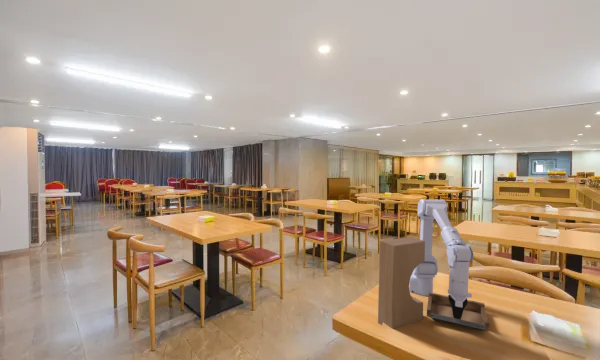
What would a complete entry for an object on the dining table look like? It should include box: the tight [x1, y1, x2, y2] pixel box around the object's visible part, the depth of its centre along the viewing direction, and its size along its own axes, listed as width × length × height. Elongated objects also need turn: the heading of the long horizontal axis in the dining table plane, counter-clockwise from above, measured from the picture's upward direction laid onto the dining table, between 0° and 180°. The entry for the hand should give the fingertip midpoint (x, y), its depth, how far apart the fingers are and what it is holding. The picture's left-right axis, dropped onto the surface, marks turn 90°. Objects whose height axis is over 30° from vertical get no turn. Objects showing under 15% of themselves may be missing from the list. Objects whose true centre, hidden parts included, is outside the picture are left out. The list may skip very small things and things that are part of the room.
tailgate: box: [430, 313, 486, 331], centre depth 96 cm, size 16×1×6 cm
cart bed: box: [426, 292, 490, 332], centre depth 104 cm, size 19×14×5 cm
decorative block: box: [377, 236, 425, 330], centre depth 100 cm, size 15×8×30 cm, turn 116°
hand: (457, 318), depth 95 cm, fingers closed
